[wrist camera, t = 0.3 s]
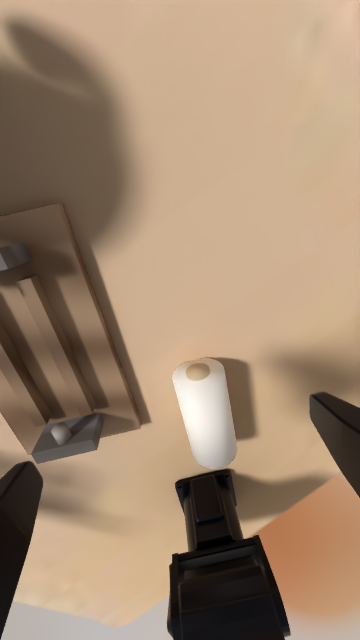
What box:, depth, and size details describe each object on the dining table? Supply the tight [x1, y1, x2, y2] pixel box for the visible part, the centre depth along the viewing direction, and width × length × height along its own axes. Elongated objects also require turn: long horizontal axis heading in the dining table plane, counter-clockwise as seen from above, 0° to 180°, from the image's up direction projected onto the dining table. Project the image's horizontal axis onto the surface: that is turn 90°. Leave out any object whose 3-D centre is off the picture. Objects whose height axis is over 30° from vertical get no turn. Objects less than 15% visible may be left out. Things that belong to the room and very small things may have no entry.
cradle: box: [0, 204, 141, 464], centre depth 19 cm, size 20×11×4 cm, turn 12°
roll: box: [172, 358, 237, 469], centre depth 23 cm, size 10×4×4 cm, turn 12°
